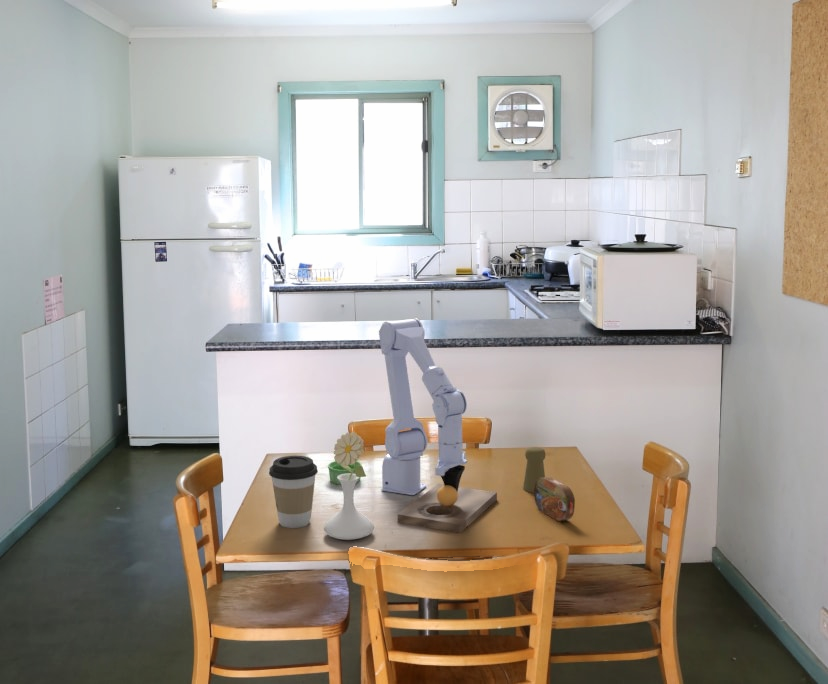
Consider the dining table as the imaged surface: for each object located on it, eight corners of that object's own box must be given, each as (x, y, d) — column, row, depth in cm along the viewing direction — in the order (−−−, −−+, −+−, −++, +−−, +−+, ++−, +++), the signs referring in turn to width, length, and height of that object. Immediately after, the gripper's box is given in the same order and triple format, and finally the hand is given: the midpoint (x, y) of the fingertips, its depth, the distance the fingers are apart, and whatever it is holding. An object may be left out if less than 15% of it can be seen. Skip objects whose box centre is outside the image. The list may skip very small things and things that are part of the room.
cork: (545, 493, 253) (546, 451, 251) (521, 491, 255) (522, 450, 253) (547, 485, 259) (548, 445, 257) (524, 484, 260) (524, 443, 258)
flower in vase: (316, 531, 228) (313, 426, 224) (360, 522, 234) (359, 419, 229) (340, 550, 217) (338, 440, 213) (386, 540, 223) (385, 433, 218)
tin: (532, 505, 245) (533, 473, 243) (543, 504, 246) (544, 471, 244) (565, 526, 231) (565, 491, 230) (576, 524, 232) (577, 490, 231)
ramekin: (365, 476, 268) (365, 460, 267) (357, 487, 259) (357, 470, 258) (333, 474, 269) (332, 458, 269) (324, 485, 261) (324, 469, 260)
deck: (397, 522, 234) (397, 514, 234) (438, 491, 255) (438, 483, 255) (460, 532, 227) (460, 524, 227) (496, 499, 249) (496, 492, 248)
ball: (440, 486, 243) (440, 507, 241) (434, 484, 238) (434, 505, 237) (460, 486, 241) (460, 507, 240) (454, 483, 236) (454, 504, 235)
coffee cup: (274, 513, 240) (272, 453, 237) (321, 514, 239) (320, 454, 237) (266, 531, 229) (264, 468, 226) (315, 531, 228) (314, 469, 225)
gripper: (454, 451, 230) (455, 507, 232) (476, 435, 243) (477, 488, 245) (426, 448, 233) (428, 504, 235) (449, 433, 246) (451, 485, 248)
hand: (451, 496), depth 240 cm, fingers closed, pressing on ball
